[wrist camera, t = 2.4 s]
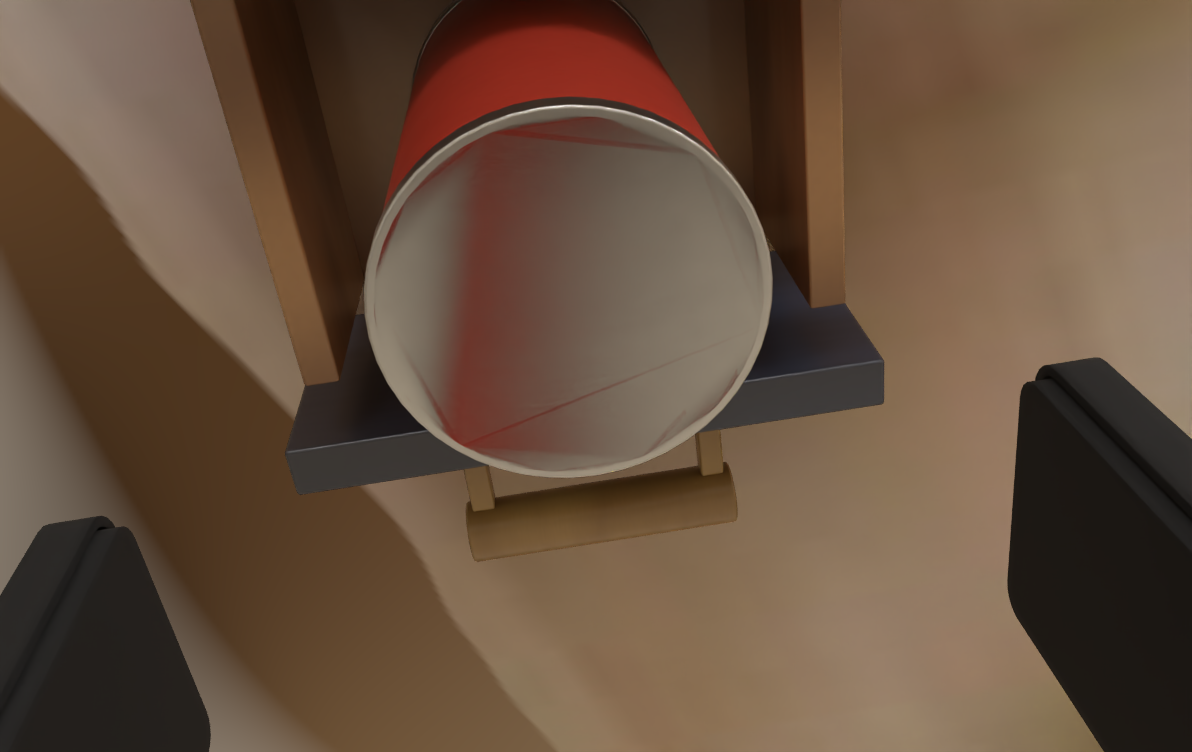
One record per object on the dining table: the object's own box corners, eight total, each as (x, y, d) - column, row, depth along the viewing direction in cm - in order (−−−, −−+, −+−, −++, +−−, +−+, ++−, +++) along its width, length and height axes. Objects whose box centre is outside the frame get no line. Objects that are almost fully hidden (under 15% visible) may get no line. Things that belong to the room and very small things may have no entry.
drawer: (812, 414, 33) (884, 555, 27) (369, 483, 33) (343, 641, 27) (785, -373, 23) (888, -426, 17) (156, -283, 23) (40, -305, 17)
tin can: (387, -10, 25) (317, 140, 15) (648, -49, 25) (763, 73, 15) (439, 235, 28) (410, 505, 18) (672, 199, 28) (781, 447, 18)
